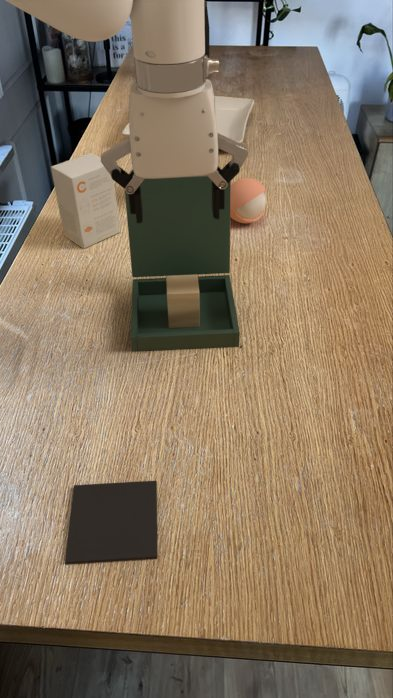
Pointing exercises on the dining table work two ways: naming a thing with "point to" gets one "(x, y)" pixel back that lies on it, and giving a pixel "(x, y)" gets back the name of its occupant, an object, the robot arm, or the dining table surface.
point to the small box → (86, 200)
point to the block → (183, 301)
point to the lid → (179, 229)
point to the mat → (113, 522)
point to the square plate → (227, 117)
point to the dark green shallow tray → (157, 336)
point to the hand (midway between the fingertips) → (177, 215)
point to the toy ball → (247, 200)
